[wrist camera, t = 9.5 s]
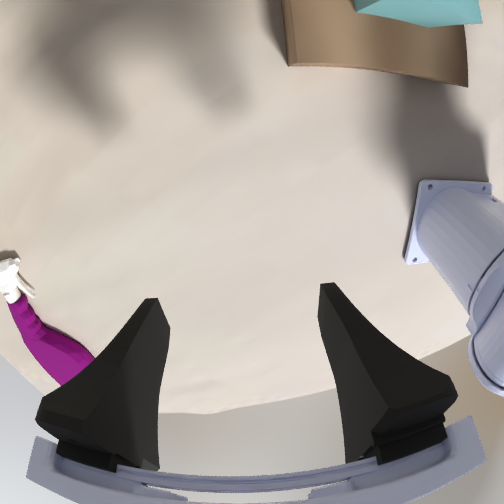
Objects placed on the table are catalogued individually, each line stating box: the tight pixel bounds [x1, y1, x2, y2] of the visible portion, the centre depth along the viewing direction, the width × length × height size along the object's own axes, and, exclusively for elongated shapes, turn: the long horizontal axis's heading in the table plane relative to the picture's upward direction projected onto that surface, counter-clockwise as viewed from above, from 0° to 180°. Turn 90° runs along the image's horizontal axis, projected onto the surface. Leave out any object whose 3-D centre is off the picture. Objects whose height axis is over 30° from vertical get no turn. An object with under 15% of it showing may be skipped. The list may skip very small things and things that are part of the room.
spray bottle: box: [0, 258, 95, 386], centre depth 27 cm, size 3×11×24 cm
